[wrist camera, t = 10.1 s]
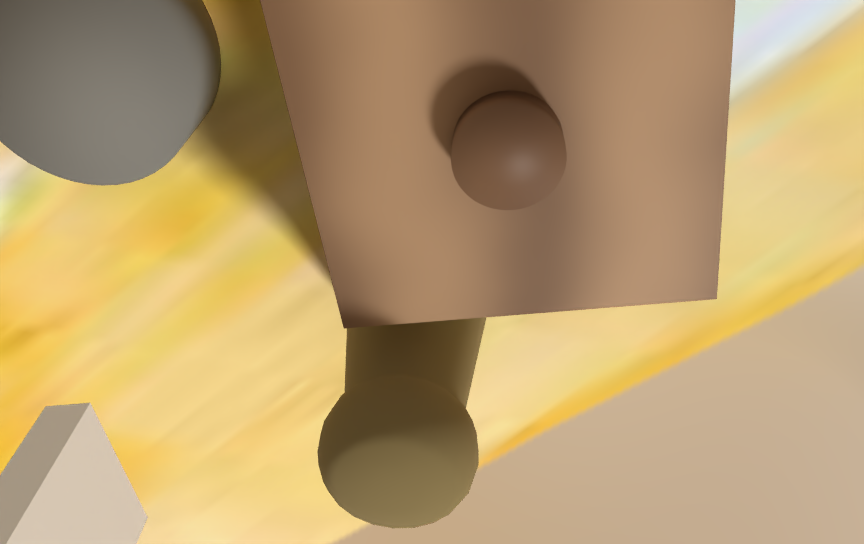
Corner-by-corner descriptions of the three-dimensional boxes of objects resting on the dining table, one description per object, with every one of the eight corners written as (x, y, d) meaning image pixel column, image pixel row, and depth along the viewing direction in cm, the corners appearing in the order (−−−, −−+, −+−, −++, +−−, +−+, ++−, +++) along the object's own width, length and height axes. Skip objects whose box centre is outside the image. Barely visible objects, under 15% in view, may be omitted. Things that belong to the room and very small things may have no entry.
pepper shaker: (374, 207, 31) (326, 396, 22) (514, 257, 32) (524, 459, 23) (331, 320, 35) (274, 525, 25) (459, 362, 35) (449, 576, 26)
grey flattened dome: (51, 159, 31) (12, 195, 29) (-44, -56, 27) (-99, -35, 24) (246, 138, 30) (224, 173, 28) (181, -89, 26) (147, -72, 23)
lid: (355, 284, 27) (338, 348, 24) (271, -70, 21) (236, -41, 18) (698, 254, 26) (725, 319, 23) (716, -136, 20) (755, -115, 17)
